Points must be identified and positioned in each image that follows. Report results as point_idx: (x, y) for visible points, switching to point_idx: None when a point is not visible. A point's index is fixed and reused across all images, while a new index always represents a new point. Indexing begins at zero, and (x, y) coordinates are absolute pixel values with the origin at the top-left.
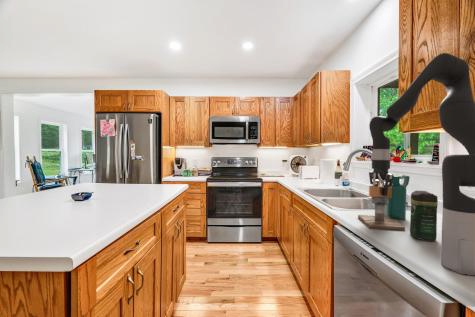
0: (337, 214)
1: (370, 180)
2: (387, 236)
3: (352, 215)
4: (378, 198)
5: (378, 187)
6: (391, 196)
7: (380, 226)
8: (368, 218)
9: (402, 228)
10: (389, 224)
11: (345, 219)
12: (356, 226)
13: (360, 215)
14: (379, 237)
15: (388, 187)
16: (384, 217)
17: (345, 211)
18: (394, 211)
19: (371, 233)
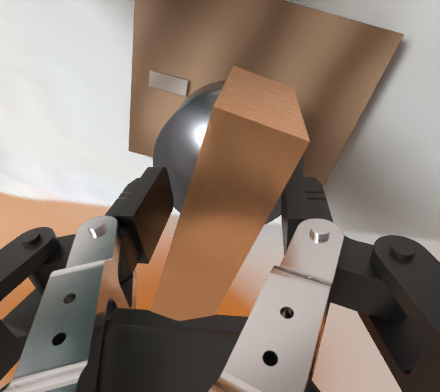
0: (88, 203)
1: (31, 322)
2: (430, 187)
3: (89, 146)
4: (276, 213)
5: (232, 271)
6: (294, 95)
7: (336, 159)
8: None
9: (392, 48)
10: (327, 97)
11: (172, 211)
12: (276, 223)
13: (138, 145)
14: (426, 221)
15: (283, 183)
16: (168, 14)
17: (7, 138)
18: None
19: (374, 221)
